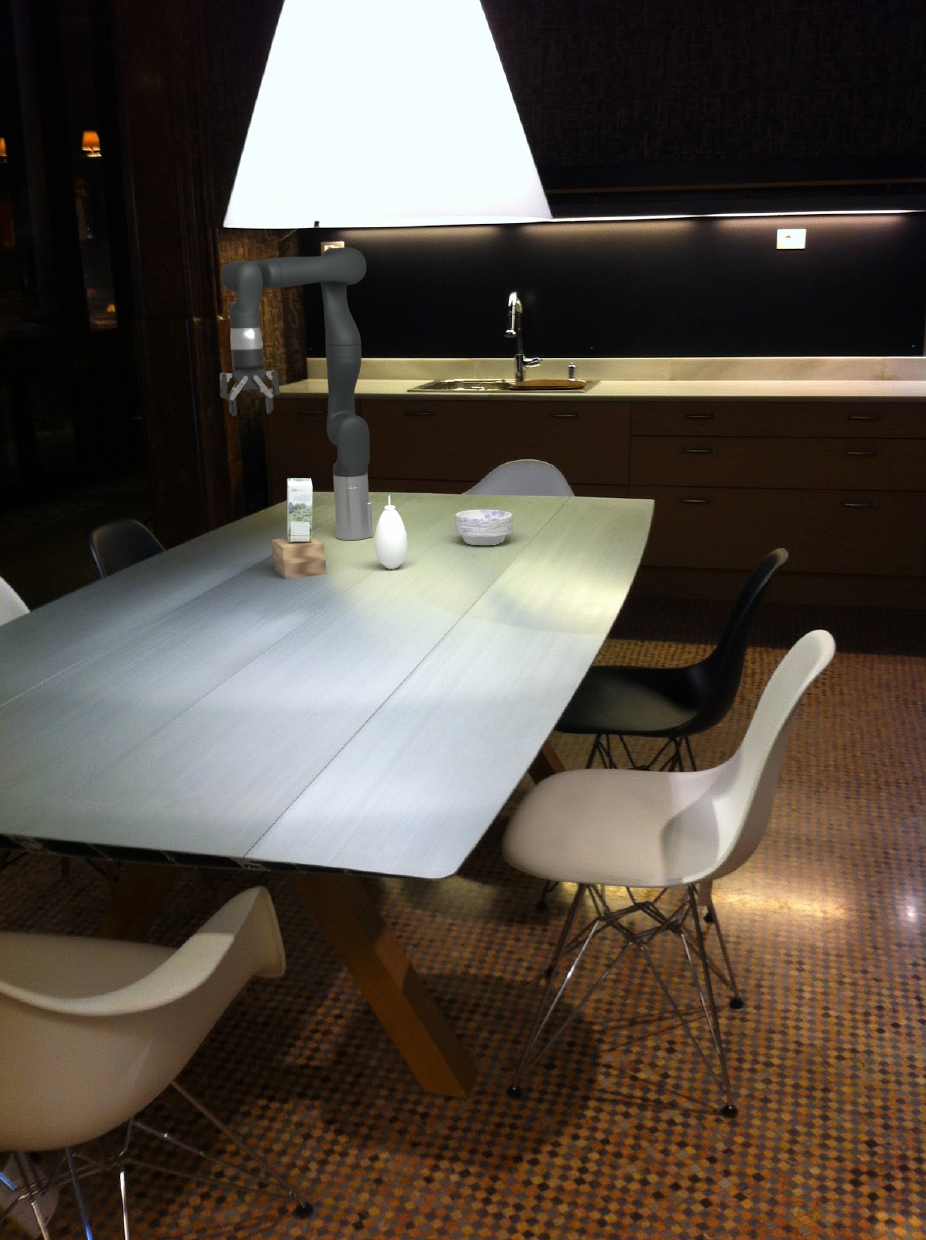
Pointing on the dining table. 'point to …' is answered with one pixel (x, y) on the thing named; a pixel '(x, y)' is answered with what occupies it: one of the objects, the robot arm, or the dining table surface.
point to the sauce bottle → (390, 538)
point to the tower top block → (297, 551)
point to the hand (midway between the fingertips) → (251, 414)
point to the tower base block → (300, 569)
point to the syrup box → (299, 510)
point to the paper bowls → (483, 526)
